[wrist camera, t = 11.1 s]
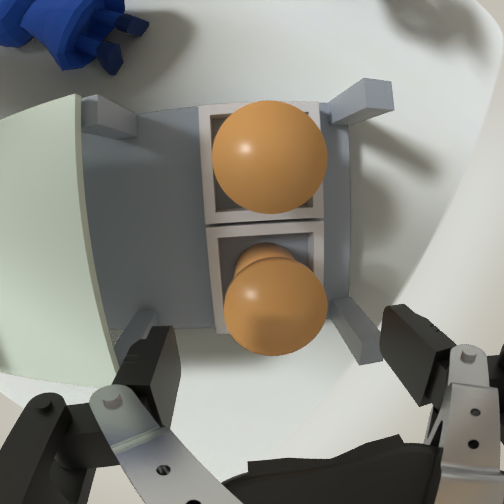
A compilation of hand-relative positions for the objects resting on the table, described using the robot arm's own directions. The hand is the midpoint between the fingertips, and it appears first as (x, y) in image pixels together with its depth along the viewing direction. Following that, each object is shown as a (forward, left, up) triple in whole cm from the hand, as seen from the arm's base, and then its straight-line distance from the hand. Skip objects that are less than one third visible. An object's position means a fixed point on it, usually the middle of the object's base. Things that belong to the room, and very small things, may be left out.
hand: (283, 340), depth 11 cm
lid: (-3, -15, -3) cm, 15 cm away
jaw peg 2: (0, 0, -9) cm, 9 cm away
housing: (-3, -8, -10) cm, 13 cm away
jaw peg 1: (-7, 0, -9) cm, 11 cm away
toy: (-19, -14, -10) cm, 26 cm away
